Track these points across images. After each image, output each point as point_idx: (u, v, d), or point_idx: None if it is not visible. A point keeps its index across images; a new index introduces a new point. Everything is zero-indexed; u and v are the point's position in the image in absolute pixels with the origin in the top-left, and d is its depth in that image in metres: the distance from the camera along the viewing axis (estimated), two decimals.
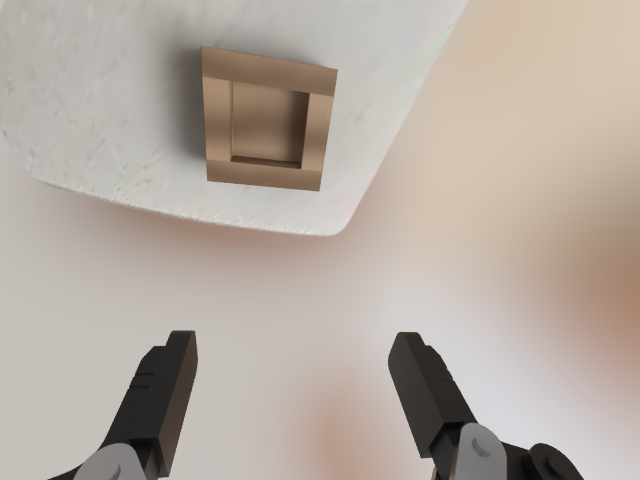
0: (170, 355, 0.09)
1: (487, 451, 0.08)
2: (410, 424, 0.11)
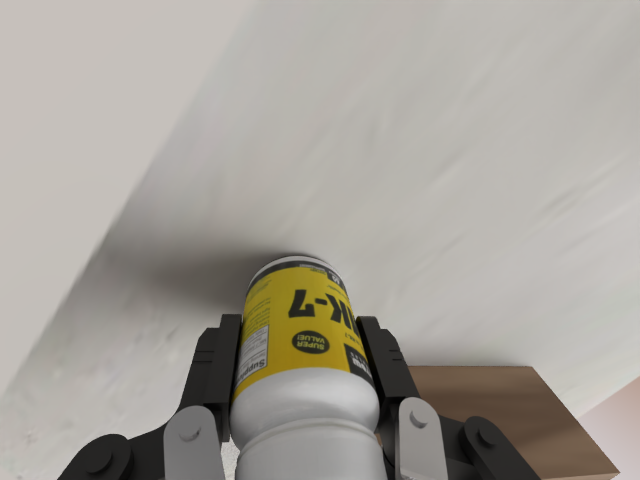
0: (225, 335, 0.10)
1: (421, 422, 0.08)
2: None
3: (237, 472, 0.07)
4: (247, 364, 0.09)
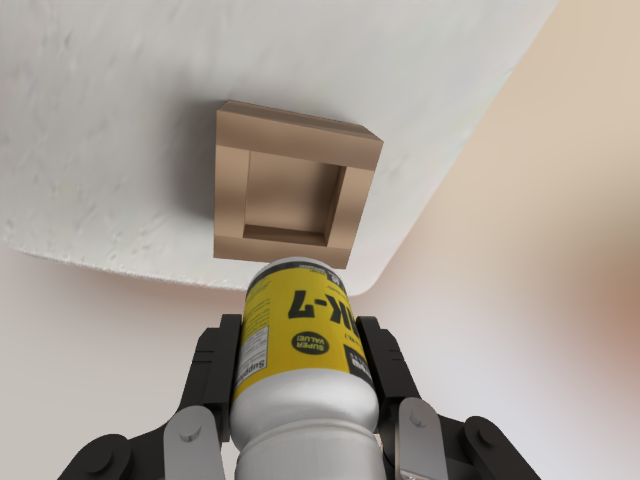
0: (225, 334, 0.10)
1: (421, 422, 0.08)
2: None
3: (237, 473, 0.07)
4: (247, 365, 0.09)
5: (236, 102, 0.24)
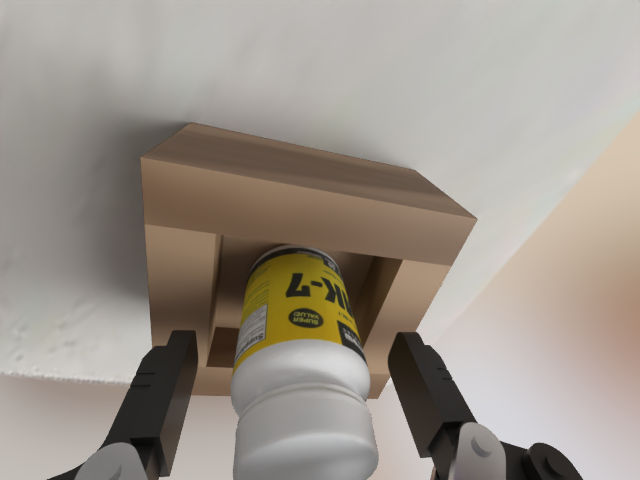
0: (171, 355, 0.09)
1: (486, 450, 0.08)
2: (409, 424, 0.11)
3: (238, 431, 0.08)
4: (247, 338, 0.10)
5: (202, 128, 0.14)
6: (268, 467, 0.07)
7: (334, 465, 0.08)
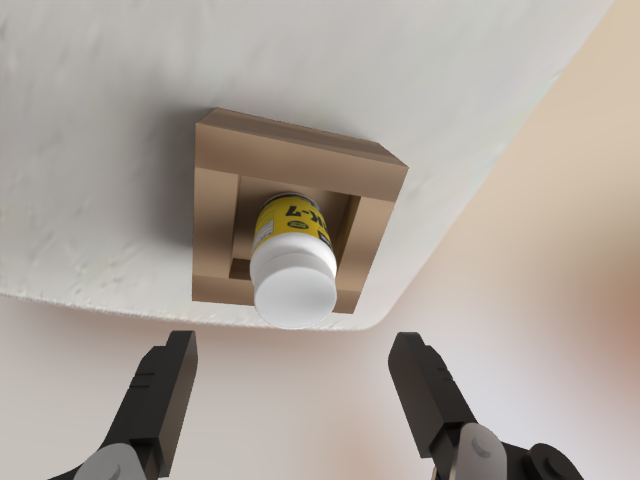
0: (170, 355, 0.09)
1: (487, 451, 0.08)
2: (410, 424, 0.11)
3: (256, 278, 0.14)
4: (261, 237, 0.16)
5: (225, 111, 0.20)
6: (274, 291, 0.13)
7: (311, 295, 0.14)
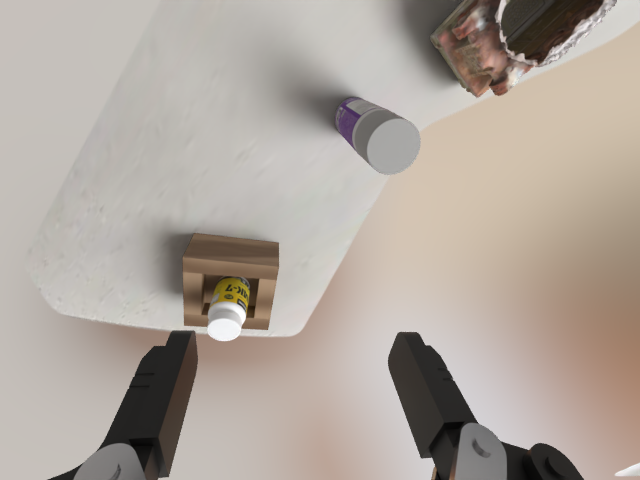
0: (170, 355, 0.09)
1: (487, 451, 0.08)
2: (410, 424, 0.11)
3: None
4: (213, 301, 0.37)
5: (198, 236, 0.41)
6: (214, 326, 0.35)
7: (229, 328, 0.35)
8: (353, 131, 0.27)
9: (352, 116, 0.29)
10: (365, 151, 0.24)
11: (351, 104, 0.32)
